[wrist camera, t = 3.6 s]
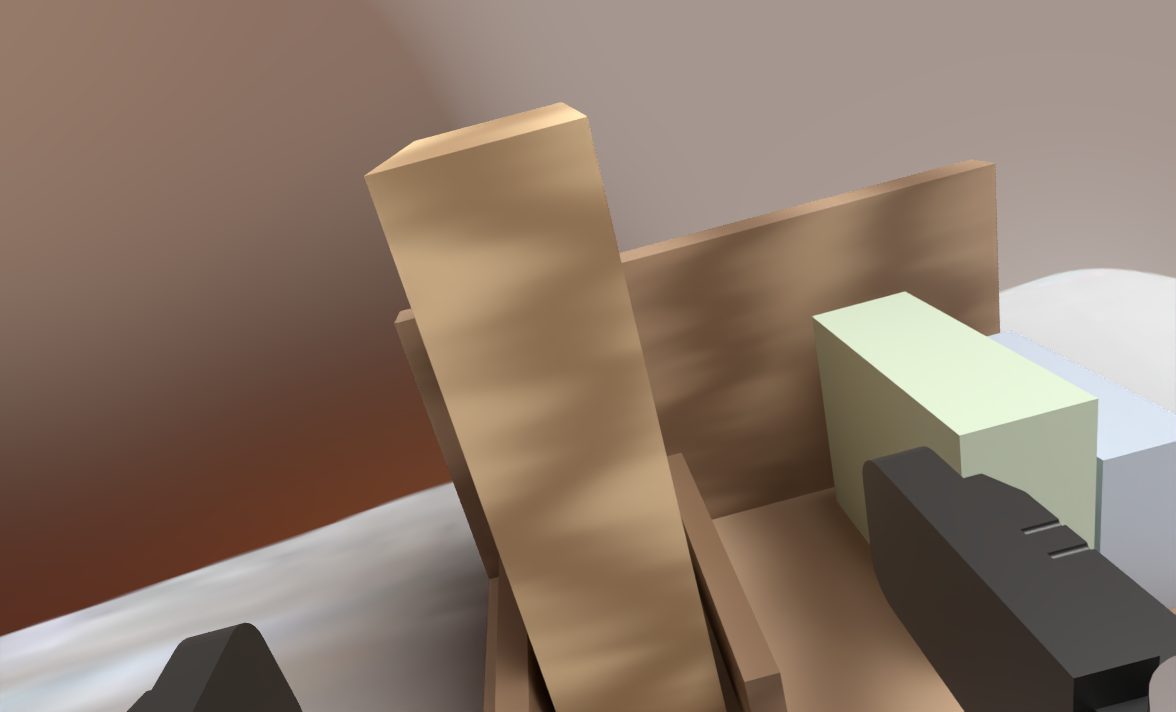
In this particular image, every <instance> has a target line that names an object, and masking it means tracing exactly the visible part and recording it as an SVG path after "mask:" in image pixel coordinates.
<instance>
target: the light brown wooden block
mask: <svg viewBox="0 0 1176 712" xmlns="http://www.w3.org/2000/svg"><path fill="white" fill-rule="evenodd" d="M364 177H365V180H366V183H367V185H368V188H369V191H370V194H371V197H372V199H373V202H374V205H375V208H376V210H377V213H378V216H379V219H380V222H381V225H382V227H383V230H384V233H385V236H386V238H387V241H388V244H389V247H390V249H391V253H392V255H393V258H394V261H395V264H396V267H397V269H398V272H399V275H400V278H401V280H402V283H403V286H404V289H405V292H406V294H407V297H408V300H409V303H410V305H411V308H412V311H413V314H414V317H415V320H416V322H417V325H418V328H419V331H420V334H421V336H422V339H423V342H424V345H425V348H426V350H427V353H428V356H429V359H430V362H431V364H432V367H433V370H434V373H435V375H436V378H437V381H438V384H439V387H440V389H441V392H442V395H443V398H444V401H445V403H446V406H447V409H448V412H449V415H450V417H451V420H452V423H453V426H454V429H455V431H456V434H457V437H458V440H459V442H460V445H461V448H462V451H463V454H464V456H465V459H466V462H467V465H468V468H469V470H470V473H471V476H472V479H473V482H474V484H475V487H476V490H477V493H478V496H479V498H480V501H481V504H482V507H483V510H484V512H485V515H486V518H487V521H488V523H489V526H490V529H491V532H492V535H493V537H494V540H495V543H496V546H497V549H498V551H499V554H500V557H501V560H502V563H503V565H504V568H505V571H506V574H507V577H508V579H509V582H510V585H511V588H512V591H513V593H514V596H515V599H516V602H517V604H518V607H519V610H520V613H521V616H522V618H523V621H524V624H525V627H526V630H527V632H528V635H529V638H530V641H531V644H532V646H533V649H534V652H535V655H536V658H537V660H538V663H539V666H540V669H541V672H542V674H543V677H544V680H545V683H546V685H547V688H548V691H549V694H550V697H551V699H552V702H553V705H554V708H555V711H556V712H727V711H726V707H725V703H724V699H723V694H722V690H721V686H720V682H719V677H718V673H717V669H716V664H715V660H714V656H713V652H712V647H711V643H710V639H709V635H708V630H707V626H706V622H705V617H704V613H703V609H702V605H701V600H700V596H699V592H698V588H697V583H696V579H695V575H694V571H693V566H692V562H691V558H690V553H689V549H688V545H687V541H686V536H685V532H684V528H683V524H682V519H681V515H680V511H679V506H678V502H677V498H676V494H675V489H674V485H673V481H672V477H671V472H670V468H669V464H668V459H667V455H666V451H665V447H664V442H663V438H662V434H661V430H660V425H659V421H658V417H657V413H656V408H655V404H654V400H653V395H652V391H651V387H650V383H649V378H648V374H647V370H646V366H645V361H644V357H643V353H642V348H641V344H640V340H639V336H638V331H637V327H636V323H635V319H634V314H633V310H632V306H631V301H630V297H629V293H628V289H627V284H626V280H625V276H624V272H623V267H622V263H621V259H620V255H619V250H618V246H617V242H616V238H615V233H614V229H613V225H612V220H611V216H610V212H609V208H608V204H607V199H606V195H605V190H604V186H603V182H602V178H601V173H600V169H599V165H598V161H597V156H596V152H595V148H594V144H593V139H592V135H591V131H590V126H589V123H588V118H587V116H585V115H583V114H582V113H579V112H578V111H576V110H574V109H573V108H571V107H569V106H567V105H566V104H564V103H562V102H560V103H557V104H553V105H549V106H545V107H541V108H538V109H534V110H530V111H526V112H523V113H519V114H515V115H511V116H507V117H504V118H500V119H496V120H492V121H489V122H485V123H481V124H478V125H474V126H470V127H466V128H463V129H459V130H455V131H451V132H447V133H444V134H440V135H436V136H433V137H429V138H425V139H421V140H417V141H414V142H413V143H412V144H410V145H409V146H407V147H405V148H404V149H403V150H401V151H400V152H398V153H397V154H396V155H394V156H393V157H391V158H390V159H388V160H387V161H385V162H384V163H382V164H381V165H379V166H378V167H377V168H375V169H374V170H372V171H371V172H369V173H368V174H366V175H365V176H364Z"/></svg>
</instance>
